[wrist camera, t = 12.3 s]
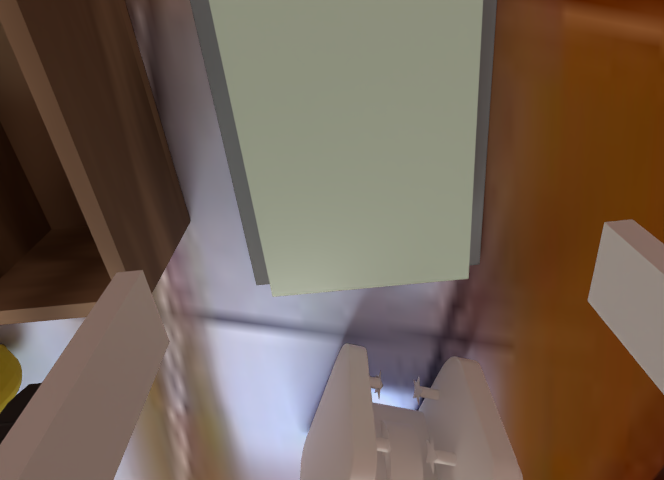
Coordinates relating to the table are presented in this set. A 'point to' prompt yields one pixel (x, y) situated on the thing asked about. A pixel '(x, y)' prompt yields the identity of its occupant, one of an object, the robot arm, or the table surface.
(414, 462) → the cable organizer
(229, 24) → the lid
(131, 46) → the box
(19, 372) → the lemon
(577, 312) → the table surface
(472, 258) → the mat
